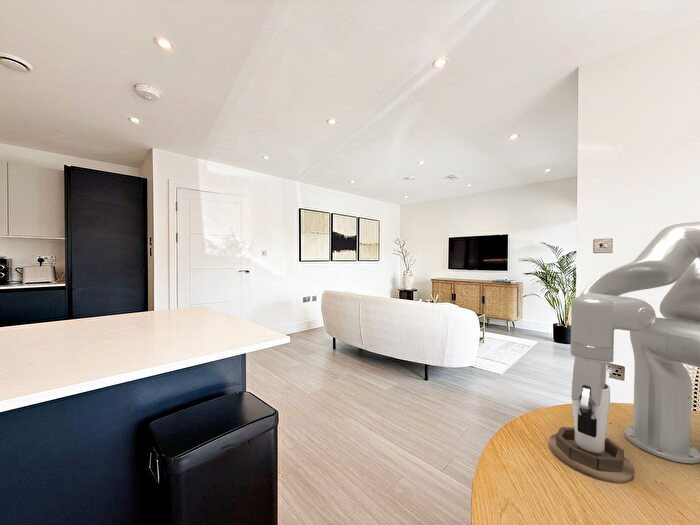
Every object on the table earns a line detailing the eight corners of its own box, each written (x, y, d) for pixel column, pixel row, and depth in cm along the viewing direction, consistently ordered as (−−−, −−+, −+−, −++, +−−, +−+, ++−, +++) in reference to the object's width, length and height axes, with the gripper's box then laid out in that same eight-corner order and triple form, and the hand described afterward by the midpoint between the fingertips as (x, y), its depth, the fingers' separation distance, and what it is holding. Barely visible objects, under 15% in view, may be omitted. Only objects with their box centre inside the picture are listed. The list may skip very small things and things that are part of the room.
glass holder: (557, 429, 76) (557, 416, 76) (636, 459, 64) (637, 444, 64) (540, 454, 66) (541, 440, 66) (631, 495, 54) (631, 478, 54)
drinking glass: (616, 459, 61) (618, 391, 61) (581, 454, 62) (582, 387, 62) (596, 439, 68) (597, 378, 67) (564, 436, 69) (565, 375, 69)
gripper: (578, 340, 73) (576, 408, 73) (562, 354, 62) (560, 435, 62) (617, 347, 68) (616, 421, 68) (608, 364, 56) (606, 453, 56)
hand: (589, 427), depth 65 cm, fingers closed on drinking glass, 6 cm apart
